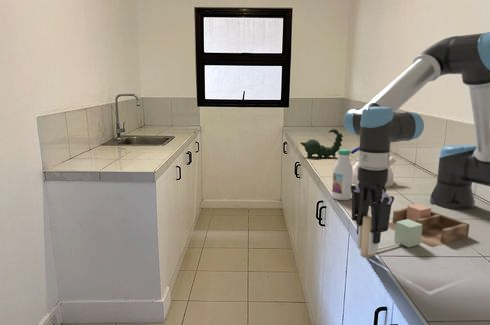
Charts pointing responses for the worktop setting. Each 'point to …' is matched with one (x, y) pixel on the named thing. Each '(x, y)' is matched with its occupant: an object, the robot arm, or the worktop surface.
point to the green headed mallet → (404, 234)
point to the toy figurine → (315, 148)
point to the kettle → (390, 173)
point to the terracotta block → (418, 212)
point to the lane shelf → (435, 228)
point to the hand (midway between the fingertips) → (367, 250)
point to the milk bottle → (342, 176)
